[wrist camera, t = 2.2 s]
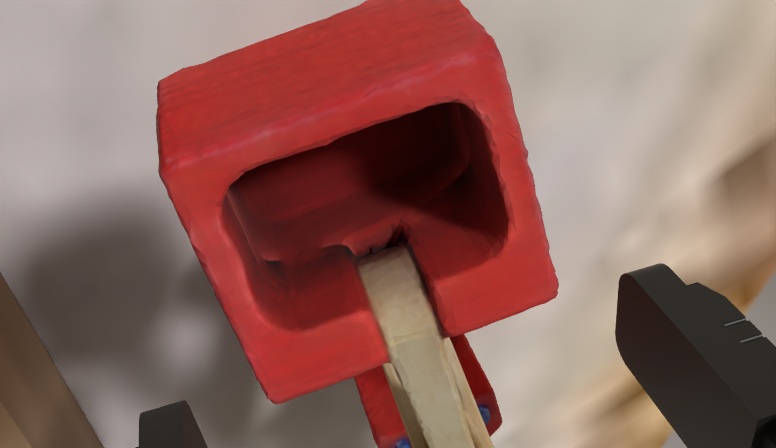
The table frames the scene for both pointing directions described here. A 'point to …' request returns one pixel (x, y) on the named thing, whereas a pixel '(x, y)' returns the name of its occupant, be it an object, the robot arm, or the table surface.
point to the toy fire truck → (363, 210)
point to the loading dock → (34, 389)
